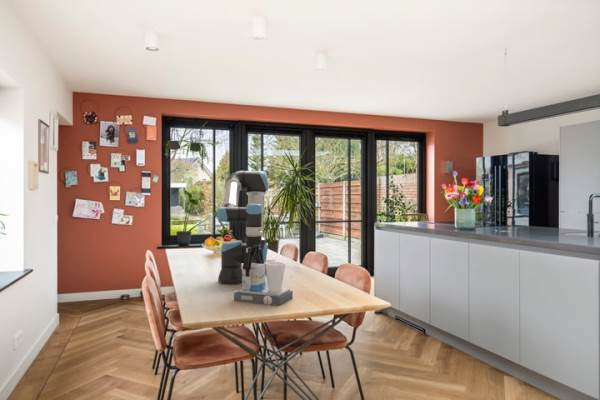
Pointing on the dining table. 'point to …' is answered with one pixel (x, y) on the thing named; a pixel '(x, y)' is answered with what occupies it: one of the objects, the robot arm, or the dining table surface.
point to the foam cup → (275, 275)
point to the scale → (263, 298)
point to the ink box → (254, 277)
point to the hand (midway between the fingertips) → (253, 281)
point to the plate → (264, 291)
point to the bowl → (269, 260)
